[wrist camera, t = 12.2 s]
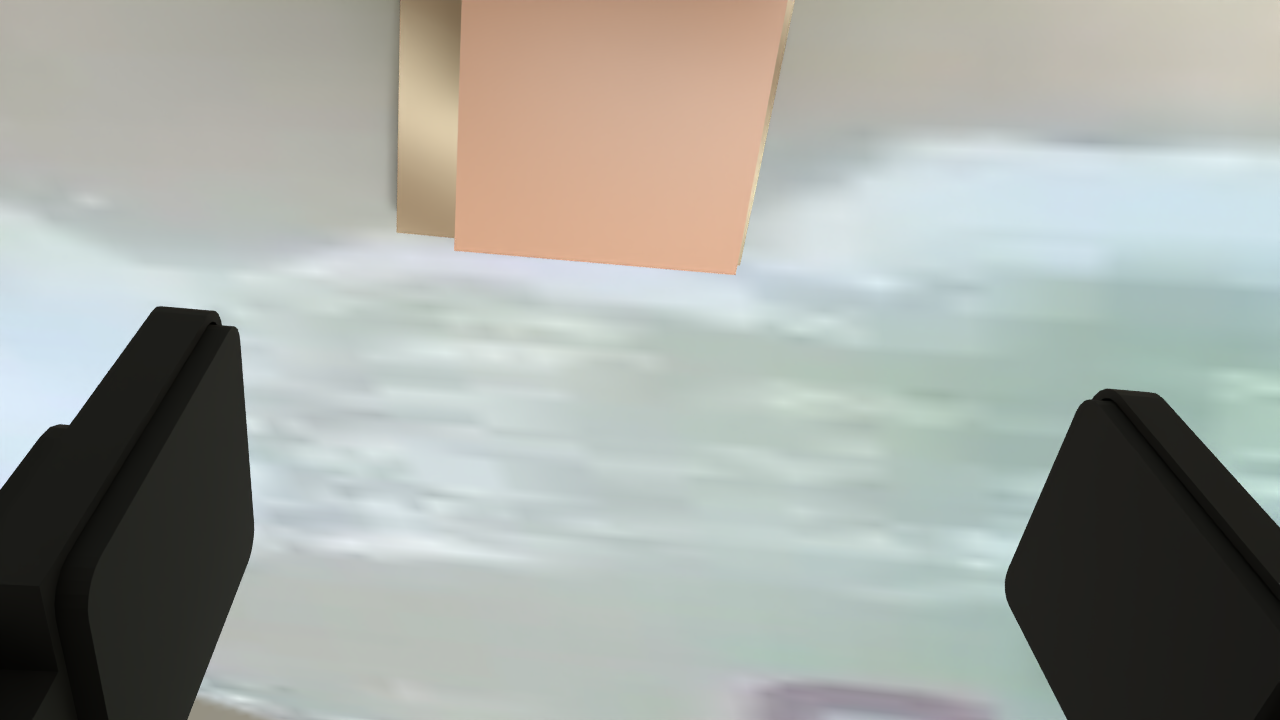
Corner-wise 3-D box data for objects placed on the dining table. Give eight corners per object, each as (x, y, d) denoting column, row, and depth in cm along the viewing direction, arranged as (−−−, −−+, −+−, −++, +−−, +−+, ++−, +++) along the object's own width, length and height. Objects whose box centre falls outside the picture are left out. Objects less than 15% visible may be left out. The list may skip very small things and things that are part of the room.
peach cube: (483, -91, 24) (463, -53, 19) (753, -58, 24) (790, -14, 20) (473, 169, 27) (454, 250, 23) (710, 191, 28) (735, 274, 23)
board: (412, -294, 26) (344, -310, 18) (828, -227, 27) (940, -214, 19) (403, 213, 33) (351, 366, 25) (733, 246, 34) (786, 401, 26)
